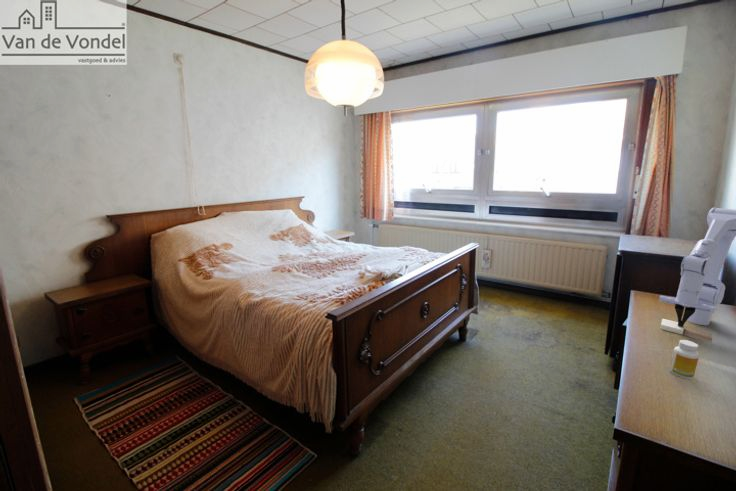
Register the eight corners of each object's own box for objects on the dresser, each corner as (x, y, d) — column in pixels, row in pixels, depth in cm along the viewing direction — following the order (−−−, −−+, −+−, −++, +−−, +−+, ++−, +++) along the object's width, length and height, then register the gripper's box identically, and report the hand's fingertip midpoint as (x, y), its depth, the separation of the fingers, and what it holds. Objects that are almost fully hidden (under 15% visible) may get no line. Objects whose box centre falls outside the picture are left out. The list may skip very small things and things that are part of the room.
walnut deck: (684, 330, 128) (685, 327, 127) (710, 337, 123) (711, 334, 123) (683, 338, 122) (684, 335, 122) (711, 345, 117) (712, 342, 117)
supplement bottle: (698, 380, 98) (706, 349, 96) (676, 377, 99) (684, 346, 97) (685, 369, 103) (693, 339, 101) (664, 367, 104) (672, 337, 102)
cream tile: (660, 324, 131) (662, 318, 131) (682, 329, 128) (683, 323, 127) (659, 331, 126) (661, 324, 126) (681, 336, 123) (683, 330, 122)
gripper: (661, 287, 124) (653, 322, 127) (718, 298, 114) (708, 336, 118) (663, 282, 129) (655, 316, 132) (718, 293, 119) (707, 329, 123)
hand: (680, 325), depth 125 cm, fingers closed
